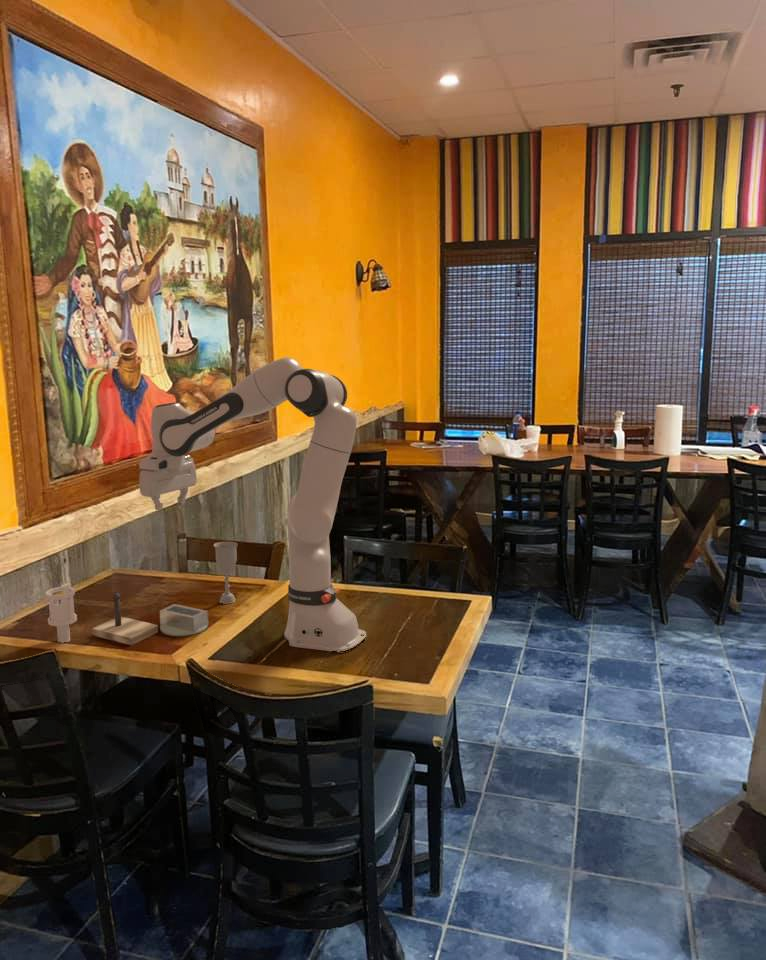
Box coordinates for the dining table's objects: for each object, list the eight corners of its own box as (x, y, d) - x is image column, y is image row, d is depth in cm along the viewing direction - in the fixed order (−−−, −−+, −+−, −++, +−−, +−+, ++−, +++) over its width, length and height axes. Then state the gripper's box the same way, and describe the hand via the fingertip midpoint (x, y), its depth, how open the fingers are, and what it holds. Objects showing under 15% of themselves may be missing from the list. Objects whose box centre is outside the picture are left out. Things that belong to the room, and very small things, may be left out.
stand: (158, 631, 209) (156, 593, 206) (131, 645, 200) (128, 604, 198) (120, 622, 215) (117, 585, 212) (92, 635, 206) (89, 596, 204)
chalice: (242, 597, 235) (240, 542, 232) (236, 605, 229) (234, 548, 225) (219, 596, 236) (217, 541, 232) (212, 604, 229) (210, 547, 226)
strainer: (84, 637, 205) (80, 584, 202) (66, 647, 198) (62, 592, 195) (62, 634, 207) (57, 581, 204) (43, 644, 200) (39, 590, 197)
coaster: (217, 623, 215) (217, 620, 215) (186, 639, 204) (186, 636, 203) (181, 615, 221) (181, 612, 220) (149, 630, 209) (149, 628, 209)
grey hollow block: (208, 624, 212) (207, 611, 211) (194, 632, 207) (193, 618, 206) (175, 617, 217) (174, 603, 216) (160, 624, 212) (159, 610, 211)
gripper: (184, 453, 228) (186, 498, 230) (134, 463, 210) (137, 512, 212) (201, 455, 225) (202, 500, 228) (151, 465, 207) (154, 514, 210)
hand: (170, 506), depth 220 cm, fingers open, 8 cm apart
